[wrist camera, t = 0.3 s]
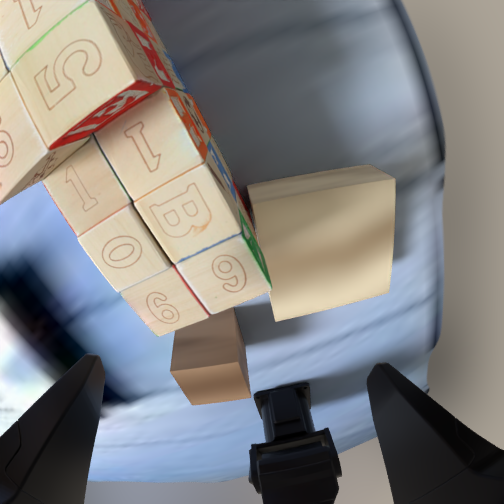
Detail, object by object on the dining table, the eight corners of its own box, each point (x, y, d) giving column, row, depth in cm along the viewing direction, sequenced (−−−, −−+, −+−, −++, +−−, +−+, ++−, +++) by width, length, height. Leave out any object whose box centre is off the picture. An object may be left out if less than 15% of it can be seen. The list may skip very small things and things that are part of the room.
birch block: (368, 265, 24) (388, 292, 21) (267, 288, 24) (275, 321, 21) (367, 163, 20) (395, 178, 16) (246, 184, 20) (252, 204, 16)
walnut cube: (245, 345, 27) (251, 397, 22) (194, 353, 27) (192, 405, 22) (233, 306, 24) (238, 361, 19) (177, 316, 24) (170, 371, 19)
